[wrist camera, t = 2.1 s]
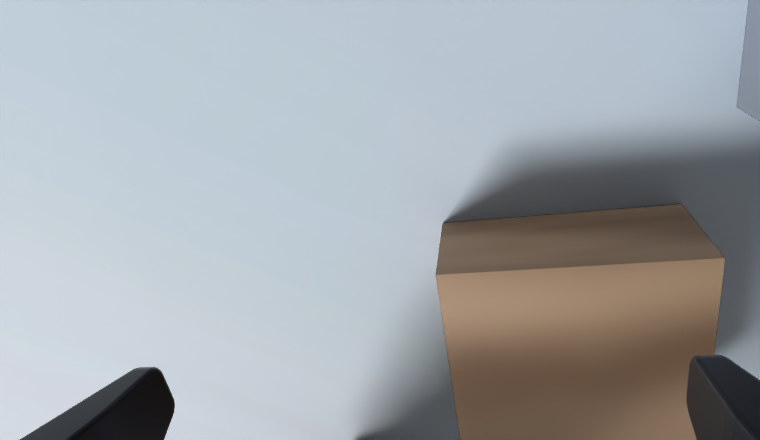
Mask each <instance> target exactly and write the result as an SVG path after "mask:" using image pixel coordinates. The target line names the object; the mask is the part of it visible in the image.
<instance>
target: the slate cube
mask: <svg viewBox="0 0 760 440" xmlns="http://www.w3.org/2000/svg"><path fill="white" fill-rule="evenodd" d="M737 108H739V109H740V110H742V111H744V112H745V113H747V114H749V115H750V116H752V117H753V118H755V119H757V120H758V121H760V0H748V8H747V17H746V26H745V35H744V44H743V53H742V62H741V71H740V80H739V89H738V98H737Z"/></svg>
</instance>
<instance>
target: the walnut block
mask: <svg viewBox="0 0 760 440" xmlns="http://www.w3.org/2000/svg"><path fill="white" fill-rule="evenodd" d="M724 264H725V257H724V256H723V255H722V253H721V252H720V251H719V250H718V248H717V247H716V246H715V245H714V243H713V242H712V241H711V240H710V238H709V237H708V236H707V235H706V233H705V232H704V231H703V230H702V228H701V227H700V226H699V225H698V223H697V222H696V221H695V220H694V218H693V217H692V216H691V215H690V213H689V212H688V211H687V210H686V208H685V207H684V206H683V205H682V204H676V205H663V206H651V207H638V208H626V209H613V210H601V211H588V212H576V213H563V214H550V215H538V216H525V217H513V218H500V219H488V220H475V221H463V222H450V223H443V225H442V232H441V240H440V247H439V254H438V262H437V269H436V280H437V287H438V294H439V300H440V307H441V314H442V321H443V327H444V334H445V341H446V348H447V354H448V361H449V368H450V374H451V381H452V388H453V395H454V401H455V408H456V415H457V422H458V428H459V435H460V440H697V439H696V436H695V432H694V429H693V426H692V423H691V420H690V416H689V413H688V408H687V401H686V395H687V384H688V374H689V364H690V361H691V358H692V357H694V356H696V355H714V350H715V342H716V333H717V325H718V316H719V307H720V299H721V290H722V282H723V273H724Z"/></svg>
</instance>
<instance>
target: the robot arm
mask: <svg viewBox="0 0 760 440" xmlns="http://www.w3.org/2000/svg"><path fill="white" fill-rule="evenodd" d="M686 401H687V408H688V413H689V416H690V420H691V423H692V426H693V429H694V432H695V436H696V439H697V440H760V380H759V379H757V378H756V377H754V376H753V375H751V374H750V373H749V372H747V371H746V370H744V369H743V368H741V367H740V366H738V365H737V364H735V363H734V362H733V361H731V360H730V359H728V358H726V357H725V356H722V355H696V356H694V357H692V358H691V361H690V364H689V374H688V384H687V395H686ZM174 408H175V403H174V399H173V396H172V394H171V392H170V389H169V387H168V385H167V382H166V380H165V378H164V376H163V373H162V372H161V371H160V370H159V369H158V368H155V367H140V368H136V369H133V370H132V371H130V372H128V373H127V374H125V375H124V376H122V377H120V378H119V379H117V380H116V381H114V382H112V383H111V384H109V385H107V386H106V387H104V388H103V389H101V390H99V391H98V392H96V393H94V394H93V395H91V396H90V397H88V398H86V399H85V400H83V401H82V402H80V403H78V404H77V405H75V406H73V407H72V408H70V409H69V410H67V411H65V412H64V413H62V414H61V415H59V416H57V417H56V418H54V419H52V420H51V421H49V422H48V423H46V424H44V425H43V426H41V427H40V428H38V429H36V430H35V431H33V432H31V433H30V434H28V435H27V436H25V437H23V438H22V439H20V440H164V438H165V435H166V433H167V430H168V427H169V425H170V422H171V419H172V416H173V413H174Z"/></svg>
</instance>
